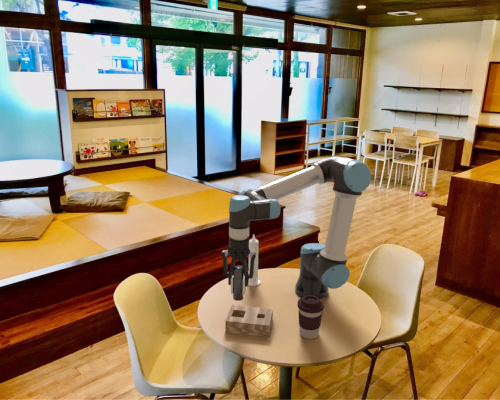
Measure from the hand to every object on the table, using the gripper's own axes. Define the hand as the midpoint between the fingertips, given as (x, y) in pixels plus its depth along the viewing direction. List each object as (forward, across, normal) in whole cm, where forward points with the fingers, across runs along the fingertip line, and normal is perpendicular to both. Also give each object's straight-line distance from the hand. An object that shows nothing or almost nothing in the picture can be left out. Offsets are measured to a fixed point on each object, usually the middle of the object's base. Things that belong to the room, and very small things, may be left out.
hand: (238, 292), depth 164 cm
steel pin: (+2, 0, 0) cm, 2 cm away
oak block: (+14, -5, 0) cm, 15 cm away
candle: (+14, 0, -36) cm, 39 cm away
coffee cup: (+14, -28, +1) cm, 32 cm away
